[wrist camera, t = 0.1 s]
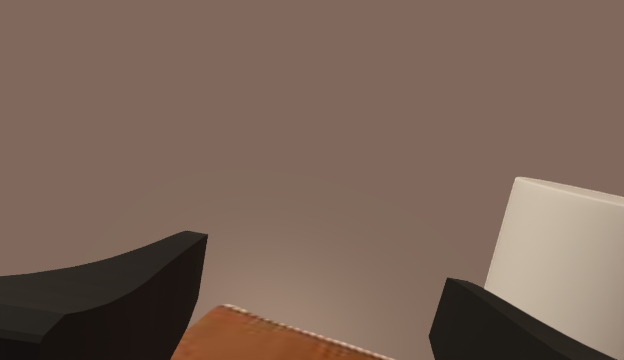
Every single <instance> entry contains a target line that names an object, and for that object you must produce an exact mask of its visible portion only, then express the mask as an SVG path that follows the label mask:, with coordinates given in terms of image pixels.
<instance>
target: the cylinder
mask: <svg viewBox="0 0 624 360" xmlns="http://www.w3.org/2000/svg"><path fill="white" fill-rule="evenodd" d="M484 289H485V290H487V291H489V292H491V293H493V294H495V295H496V296H498V297H500V298H502V299H503V300H505V301H507V302H508V303H510V304H512V305H514V306H515V307H517V308H519V309H520V310H522V311H524V312H526V313H527V314H529V315H531V316H532V317H534V318H536V319H538V320H539V321H541V322H543V323H545V324H547V325H548V326H550V327H552V328H554V329H556V330H558V331H560V332H561V333H563V334H565V335H567V336H569V337H571V338H573V339H575V340H577V341H579V342H581V343H583V344H585V345H587V346H589V347H591V348H593V349H595V350H597V351H600V352H602V353H604V354H606V355H608V356H610V357H612V358H615V359H617V360H624V197H621V196H616V195H612V194H607V193H603V192H598V191H593V190H589V189H584V188H579V187H575V186H570V185H564V184H560V183H554V182H549V181H544V180H538V179H533V178H526V177H517V178H515V181H514V185H513V188H512V192H511V195H510V198H509V202H508V205H507V209H506V212H505V216H504V220H503V223H502V226H501V230H500V234H499V237H498V241H497V244H496V248H495V251H494V255H493V258H492V262H491V266H490V269H489V273H488V277H487V280H486V283H485V287H484Z"/></svg>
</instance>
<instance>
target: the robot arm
mask: <svg viewBox="0 0 624 360" xmlns="http://www.w3.org/2000/svg"><path fill="white" fill-rule="evenodd" d="M207 238H208V234H202V233H197V232H191V231H183V232H180V233H177V234H175V235H172V236H170V237H167V238H165V239H162V240H160V241H157V242H155V243H152V244H150V245H147V246H145V247H142V248H139V249H136V250H133V251H130V252H127V253H124V254H121V255H118V256H115V257H112V258H108V259H105V260H101V261H97V262H93V263H88V264H84V265H80V266H75V267H70V268H64V269H57V270H50V271H44V272H37V273H31V274H21V275H10V276H0V360H170V359H171V357H172V355H173V353H174V351H175V349H176V348H177V346H178V344H179V342H180V340H181V338H182V336H183V334H184V332H185V331H186V329H187V326H188V324H189V321H190V318H191V316H192V313H193V310H194V308H195V305H196V302H197V300H198V296H199V289H200V283H201V276H202V270H203V264H204V257H205V250H206V244H207ZM429 340H430V343H431V347H432V351H433V354H434V358H435V360H617V359H615V358H612V357H610V356H608V355H606V354H604V353H602V352H600V351H597V350H595V349H593V348H591V347H589V346H587V345H585V344H583V343H581V342H579V341H577V340H575V339H573V338H571V337H569V336H567V335H565V334H563V333H561V332H560V331H558V330H556V329H554V328H552V327H550V326H548V325H547V324H545V323H543V322H541V321H539V320H538V319H536V318H534V317H532V316H531V315H529V314H527V313H526V312H524V311H522V310H520V309H519V308H517V307H515V306H514V305H512V304H510V303H508V302H507V301H505V300H503V299H502V298H500V297H498V296H496V295H495V294H493V293H491V292H489V291H487V290H485V289H483V288H482V287H480V286H478V285H475V284H473V283H470V282H468V281H464V280H458V279H453V278H447V280H446V283H445V286H444V289H443V292H442V296H441V299H440V302H439V305H438V308H437V312H436V315H435V318H434V321H433V324H432V327H431V331H430V334H429Z"/></svg>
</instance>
